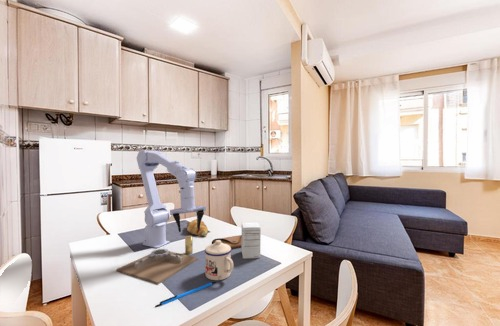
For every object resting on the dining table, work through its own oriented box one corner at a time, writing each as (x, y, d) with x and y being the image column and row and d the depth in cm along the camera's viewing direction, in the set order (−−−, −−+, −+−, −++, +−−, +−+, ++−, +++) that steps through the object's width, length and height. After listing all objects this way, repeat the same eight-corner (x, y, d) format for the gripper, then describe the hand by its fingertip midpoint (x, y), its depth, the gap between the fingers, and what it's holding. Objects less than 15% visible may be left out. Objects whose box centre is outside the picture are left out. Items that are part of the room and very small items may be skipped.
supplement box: (241, 251, 99) (241, 222, 99) (258, 250, 99) (258, 221, 99) (242, 259, 91) (242, 227, 91) (260, 258, 92) (260, 227, 92)
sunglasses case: (218, 252, 97) (215, 237, 100) (213, 256, 102) (210, 240, 105) (254, 245, 106) (251, 230, 109) (248, 248, 111) (244, 234, 114)
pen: (154, 307, 62) (154, 303, 62) (215, 282, 74) (215, 279, 74) (155, 308, 61) (156, 304, 61) (216, 283, 74) (216, 280, 74)
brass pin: (183, 254, 96) (183, 237, 96) (188, 251, 98) (188, 235, 98) (189, 255, 94) (189, 238, 94) (193, 252, 97) (194, 236, 97)
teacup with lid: (199, 274, 79) (199, 240, 79) (219, 265, 86) (220, 234, 85) (221, 288, 71) (221, 250, 70) (242, 277, 77) (242, 242, 77)
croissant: (210, 242, 118) (217, 227, 121) (195, 237, 113) (202, 221, 115) (192, 231, 135) (198, 218, 137) (177, 226, 129) (184, 213, 131)
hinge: (129, 267, 83) (129, 261, 83) (160, 252, 95) (160, 247, 95) (158, 275, 77) (158, 269, 77) (187, 259, 89) (187, 253, 89)
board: (116, 270, 81) (116, 269, 81) (160, 250, 99) (160, 249, 99) (158, 284, 73) (158, 282, 73) (197, 259, 91) (197, 257, 91)
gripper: (169, 200, 90) (171, 235, 90) (206, 196, 96) (208, 229, 95) (169, 198, 97) (170, 230, 96) (203, 195, 102) (205, 225, 102)
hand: (189, 230), depth 96 cm, fingers open, 7 cm apart
